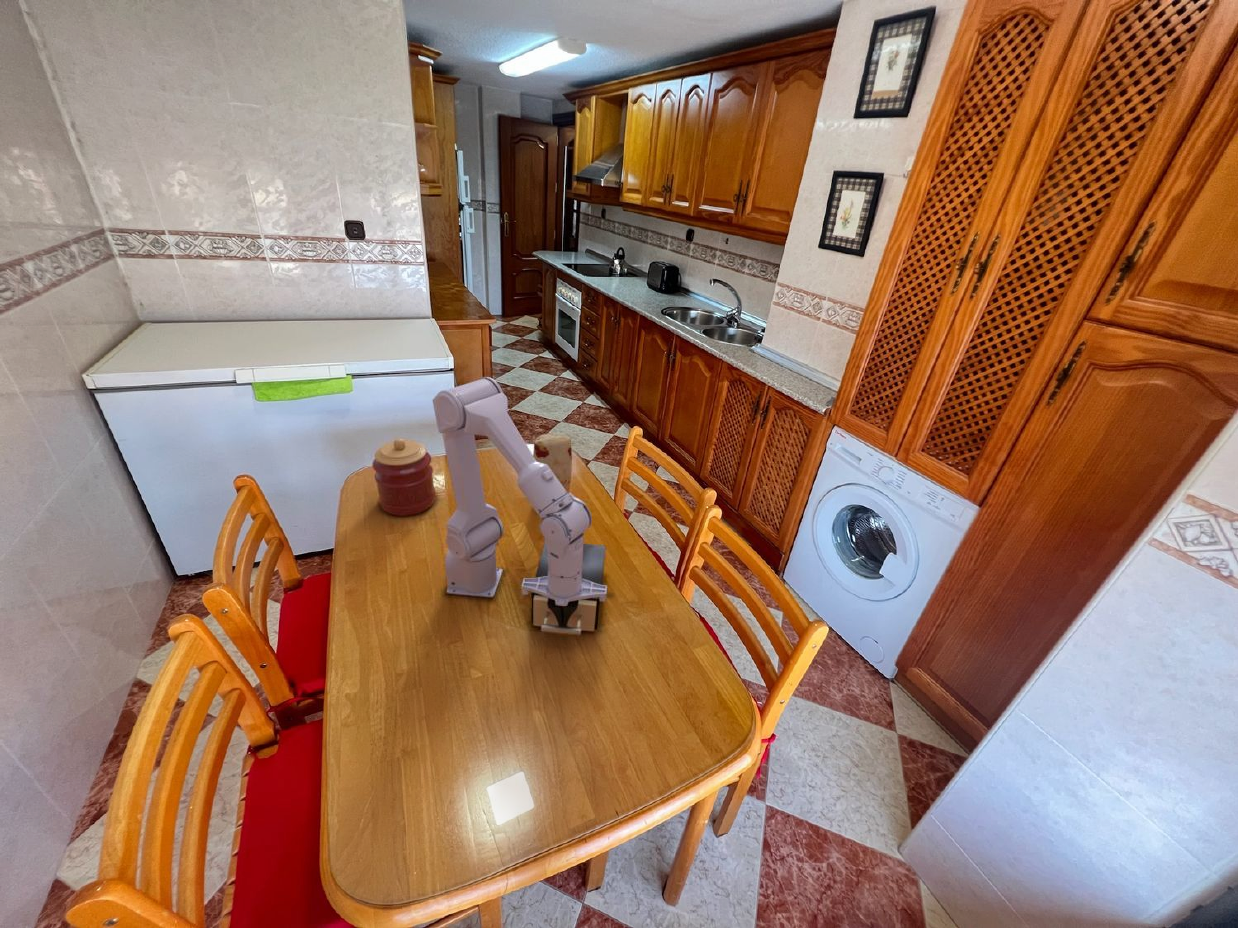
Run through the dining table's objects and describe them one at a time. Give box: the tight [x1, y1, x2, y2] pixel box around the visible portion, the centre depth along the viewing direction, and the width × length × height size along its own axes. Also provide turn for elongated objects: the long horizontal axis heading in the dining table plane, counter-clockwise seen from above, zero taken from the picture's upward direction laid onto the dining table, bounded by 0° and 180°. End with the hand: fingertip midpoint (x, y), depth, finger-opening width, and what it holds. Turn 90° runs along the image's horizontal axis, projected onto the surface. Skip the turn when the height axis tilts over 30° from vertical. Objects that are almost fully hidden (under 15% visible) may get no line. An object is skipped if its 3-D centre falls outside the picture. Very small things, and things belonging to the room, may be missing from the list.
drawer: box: [533, 595, 597, 637], centre depth 95 cm, size 18×11×7 cm, turn 177°
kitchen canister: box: [371, 438, 437, 517], centre depth 119 cm, size 13×13×18 cm
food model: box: [532, 433, 573, 494], centre depth 123 cm, size 10×7×20 cm
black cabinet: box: [530, 541, 607, 631], centre depth 98 cm, size 15×13×9 cm
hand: (563, 623), depth 90 cm, fingers closed, pressing on drawer
